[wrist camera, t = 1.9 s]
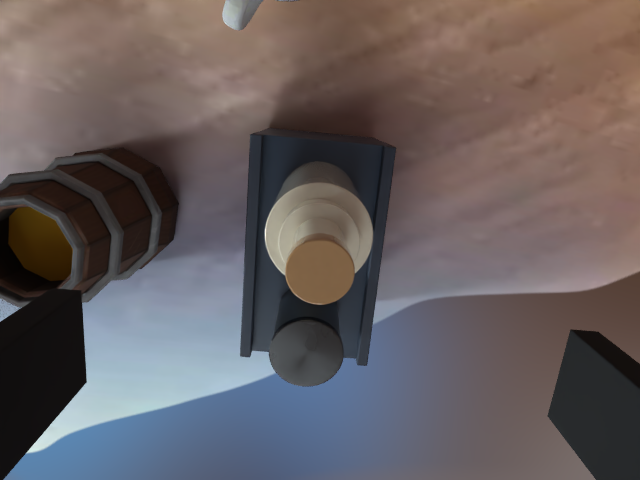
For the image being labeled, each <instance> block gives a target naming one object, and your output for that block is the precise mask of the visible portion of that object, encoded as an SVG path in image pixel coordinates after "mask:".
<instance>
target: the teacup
mask: <svg viewBox="0 0 640 480" xmlns="http://www.w3.org/2000/svg"><path fill="white" fill-rule="evenodd" d="M262 1H263V0H226V2H225V5H224V8H223V15H222V16H223V20H224V22H225V24H226V25H228V26H229V27H231V28H233V29H235V30H242V29H244V28H245V27H246V25H247V24H248V23H249V21H250V20H251V18H252V17H253V15H254V13H255V12H256V10H257V8H258V7H259V5H260V4H261V2H262ZM277 1H298V0H277Z"/></svg>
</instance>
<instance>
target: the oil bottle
mask: <svg viewBox="0 0 640 480" xmlns="http://www.w3.org/2000/svg"><path fill="white" fill-rule="evenodd" d="M372 242H373V227H372V222H371V219H370V216H369V213H368V211H367V210H366V208H365V206H364V204H363V202H362V200H361V198H360V196H359V194H358V192H357V190H356V188H355V186H354V185H353V183H352V181H351V179H350V178H349V176H348V175H347V174H346V173H345V172H344V171H343V170H342V169H340V168H339V167H337V166H335V165H333V164H330V163H327V162H319V161H316V162H309V163H306V164H303V165H301V166H299V167H297V168H296V169H294V170H293V171H292V172H291V173H290V174H289V175H288V176H287V178H286V179H285V181H284V183H283V185H282V187H281V189H280V191H279V194H278V196H277V198H276V200H275V202H274V205H273V207H272V209H271V211H270V213H269V216H268V218H267V222H266V226H265V243H266V248H267V251H268V254H269V256H270V258H271V260H272V261H273V263H274V265H275V266H276V267H277V268H278V269H279V270H280V271H281V272H282V273H283V274H284V275H285V277H286V281H287V284H288V286H289V288H290V289H291V291H292V292H293V293H294V294H295V295H296V296H297V297H298V298H300V299H301V300H303V301H305V302H308V303H311V304H317V305H323V304H329V303H332V302H335V301H337V300H339V299H340V298H342V297H343V296H344V295H345V294H346V293H347V292H348V291H349V289H350V288H351V286H352V284H353V281H354V276H355V273H356V272H357V271H358V270H359V269H360V268H361V267H362V266H363V264H364V263H365V261H366V260H367V258H368V256H369V253H370V250H371V247H372Z"/></svg>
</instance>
